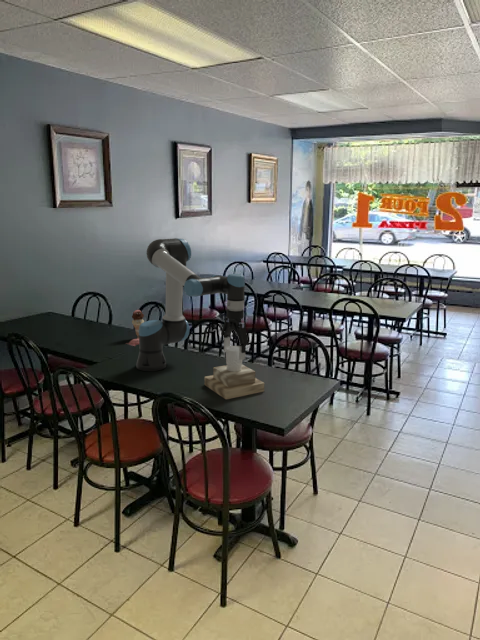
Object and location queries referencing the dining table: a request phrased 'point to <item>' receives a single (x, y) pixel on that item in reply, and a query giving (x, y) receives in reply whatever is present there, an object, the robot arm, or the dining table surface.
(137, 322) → the ice cream
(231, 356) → the white cup
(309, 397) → the dining table surface
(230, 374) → the oak riser
